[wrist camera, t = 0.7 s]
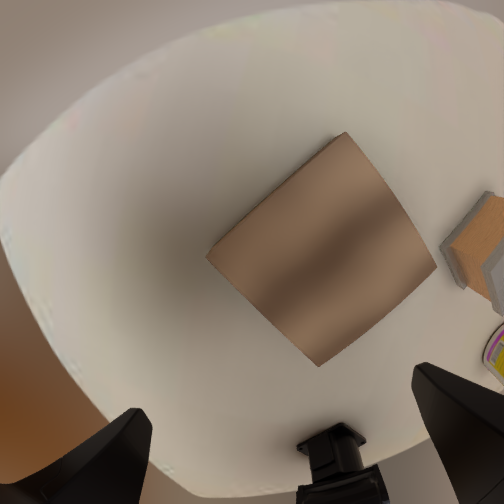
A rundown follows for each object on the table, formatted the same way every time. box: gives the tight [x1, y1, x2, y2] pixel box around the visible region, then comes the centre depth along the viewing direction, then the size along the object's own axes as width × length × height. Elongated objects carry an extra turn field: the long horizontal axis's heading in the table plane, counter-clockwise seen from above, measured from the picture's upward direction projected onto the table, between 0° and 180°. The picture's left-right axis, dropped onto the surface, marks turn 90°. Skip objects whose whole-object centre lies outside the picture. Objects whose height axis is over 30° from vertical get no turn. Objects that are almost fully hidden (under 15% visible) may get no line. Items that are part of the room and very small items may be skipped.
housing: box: [439, 191, 504, 316], centre depth 16 cm, size 5×8×7 cm, turn 133°
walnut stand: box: [205, 132, 437, 367], centre depth 18 cm, size 12×12×2 cm
